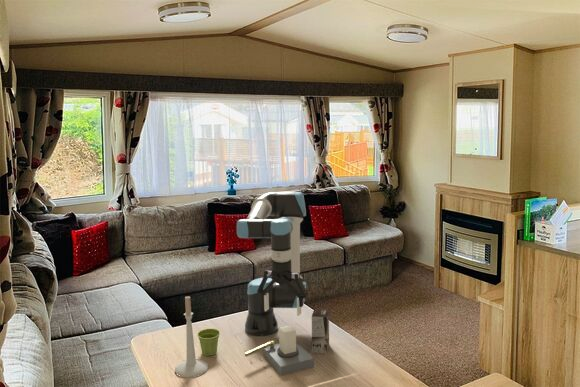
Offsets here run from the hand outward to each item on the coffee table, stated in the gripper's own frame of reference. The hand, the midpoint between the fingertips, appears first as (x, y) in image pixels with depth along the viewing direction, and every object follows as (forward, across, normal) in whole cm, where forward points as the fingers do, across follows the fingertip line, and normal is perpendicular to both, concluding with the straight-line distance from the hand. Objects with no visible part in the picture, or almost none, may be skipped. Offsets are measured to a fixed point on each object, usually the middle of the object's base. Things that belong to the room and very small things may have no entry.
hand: (282, 312), depth 190 cm
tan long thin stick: (+16, -9, -2) cm, 19 cm away
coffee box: (+22, +10, +17) cm, 30 cm away
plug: (+21, +1, +2) cm, 21 cm away
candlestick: (+22, -33, -15) cm, 42 cm away
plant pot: (+22, -33, -1) cm, 40 cm away
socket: (+22, +1, +2) cm, 22 cm away
